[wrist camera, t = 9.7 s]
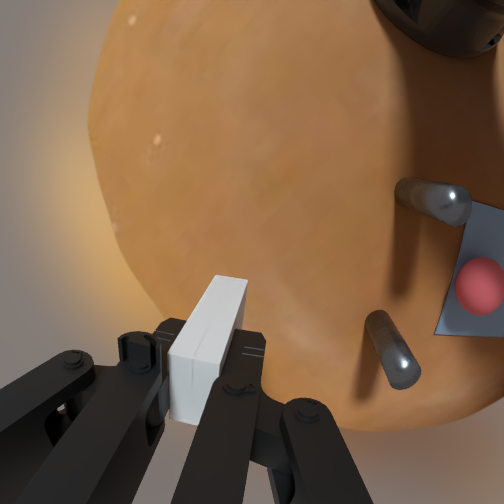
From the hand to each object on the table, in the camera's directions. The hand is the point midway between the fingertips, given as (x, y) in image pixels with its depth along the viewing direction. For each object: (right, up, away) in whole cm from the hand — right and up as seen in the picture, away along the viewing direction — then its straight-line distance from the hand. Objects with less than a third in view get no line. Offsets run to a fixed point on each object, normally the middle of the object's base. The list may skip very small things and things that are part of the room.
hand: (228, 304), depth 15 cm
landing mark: (+28, 0, +12) cm, 30 cm away
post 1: (+13, -4, +14) cm, 20 cm away
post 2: (+15, +8, +11) cm, 20 cm away
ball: (+23, -1, +9) cm, 25 cm away
